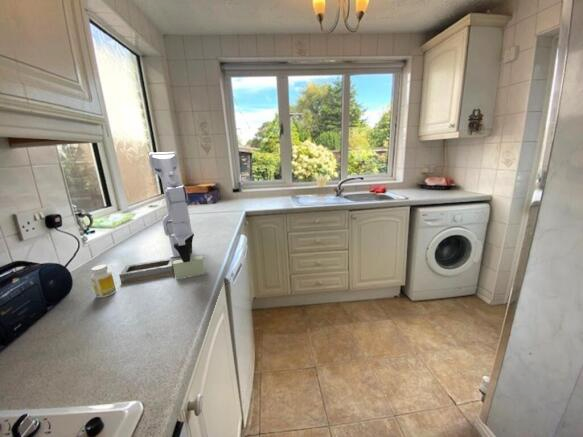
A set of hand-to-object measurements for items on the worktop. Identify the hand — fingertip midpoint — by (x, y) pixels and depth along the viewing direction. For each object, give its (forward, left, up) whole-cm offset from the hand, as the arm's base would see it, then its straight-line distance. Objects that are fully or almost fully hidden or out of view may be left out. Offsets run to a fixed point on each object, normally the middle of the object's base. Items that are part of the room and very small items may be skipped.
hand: (187, 257), depth 91 cm
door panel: (0, 0, -7) cm, 7 cm away
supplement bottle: (+3, -26, -7) cm, 27 cm away
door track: (-7, -15, -7) cm, 18 cm away
